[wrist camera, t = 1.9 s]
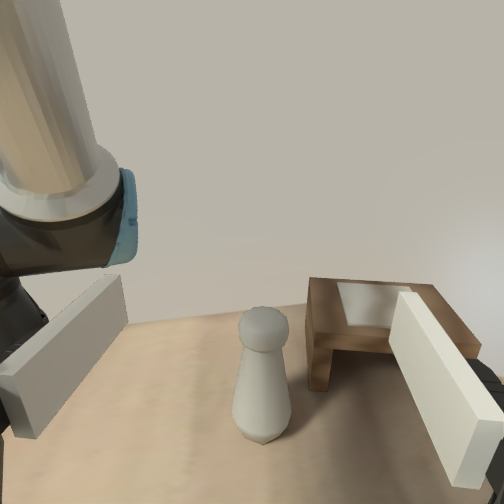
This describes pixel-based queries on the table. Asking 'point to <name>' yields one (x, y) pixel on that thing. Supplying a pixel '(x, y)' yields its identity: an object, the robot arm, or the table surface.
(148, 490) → the table surface
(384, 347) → the walnut shelf
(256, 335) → the salt shaker
